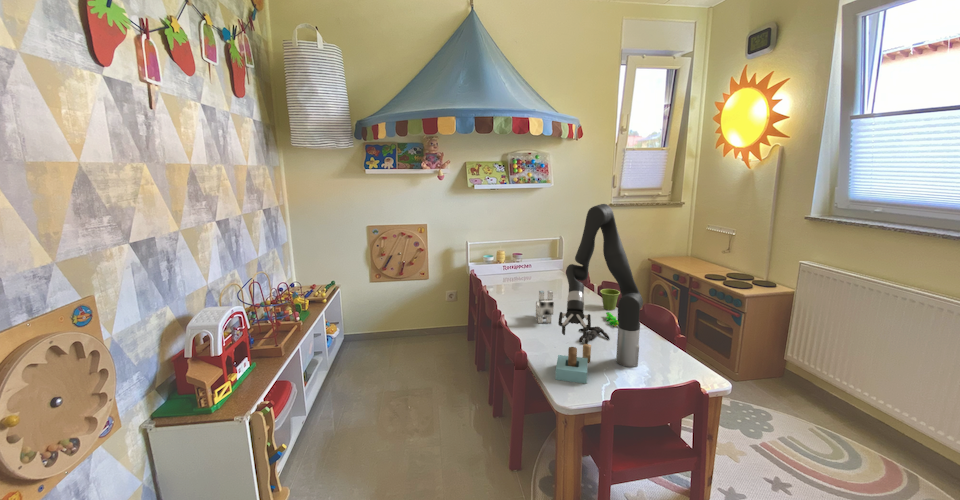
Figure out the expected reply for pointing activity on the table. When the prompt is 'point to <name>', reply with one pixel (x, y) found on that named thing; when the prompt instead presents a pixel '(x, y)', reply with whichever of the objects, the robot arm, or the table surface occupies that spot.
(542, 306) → the toy llama
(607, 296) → the plant pot
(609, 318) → the green lumpy elongated piece
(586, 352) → the short pin
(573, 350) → the long pin
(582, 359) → the hole block
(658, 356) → the table surface
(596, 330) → the dark grey sprawling piece
